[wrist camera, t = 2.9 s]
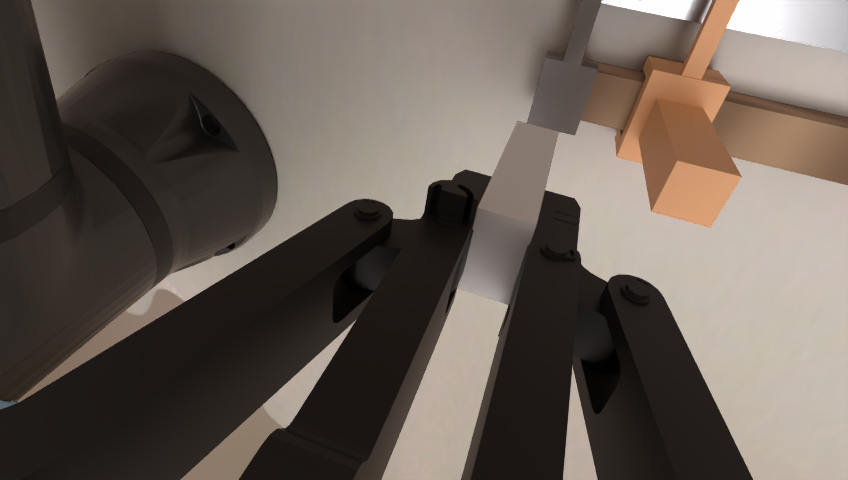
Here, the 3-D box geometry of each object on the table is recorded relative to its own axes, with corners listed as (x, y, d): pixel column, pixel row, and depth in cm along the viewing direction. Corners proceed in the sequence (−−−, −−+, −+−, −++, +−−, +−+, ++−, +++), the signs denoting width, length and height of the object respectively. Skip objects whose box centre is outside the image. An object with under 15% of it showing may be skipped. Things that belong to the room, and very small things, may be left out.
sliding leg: (615, 137, 25) (621, 231, 17) (708, -92, 19) (781, -102, 11) (677, 152, 24) (712, 257, 17) (792, -77, 19) (929, -78, 11)
